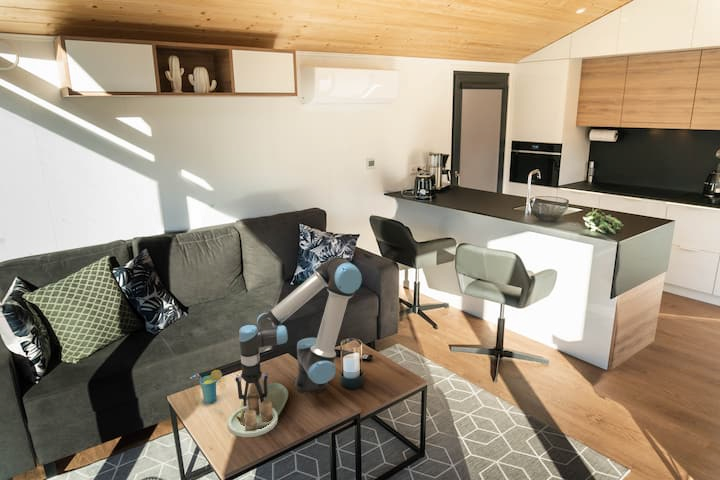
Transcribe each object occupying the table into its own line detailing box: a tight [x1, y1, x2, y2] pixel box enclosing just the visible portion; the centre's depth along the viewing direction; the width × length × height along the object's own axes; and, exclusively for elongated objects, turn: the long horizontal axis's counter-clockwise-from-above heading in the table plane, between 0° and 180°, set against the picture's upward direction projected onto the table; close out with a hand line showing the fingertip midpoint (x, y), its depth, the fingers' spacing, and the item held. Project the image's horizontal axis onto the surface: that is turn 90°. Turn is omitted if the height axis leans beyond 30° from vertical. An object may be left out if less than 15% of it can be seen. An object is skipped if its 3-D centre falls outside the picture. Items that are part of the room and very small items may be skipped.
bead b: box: [244, 410, 257, 431], centre depth 198 cm, size 5×5×8 cm
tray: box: [227, 406, 279, 438], centre depth 204 cm, size 20×20×2 cm
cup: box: [189, 369, 223, 405], centre depth 219 cm, size 14×8×15 cm, turn 128°
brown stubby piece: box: [247, 393, 259, 415], centre depth 209 cm, size 5×5×8 cm
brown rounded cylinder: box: [260, 400, 273, 422], centre depth 204 cm, size 5×5×8 cm
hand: (254, 411), depth 210 cm, fingers closed on brown stubby piece, 4 cm apart
